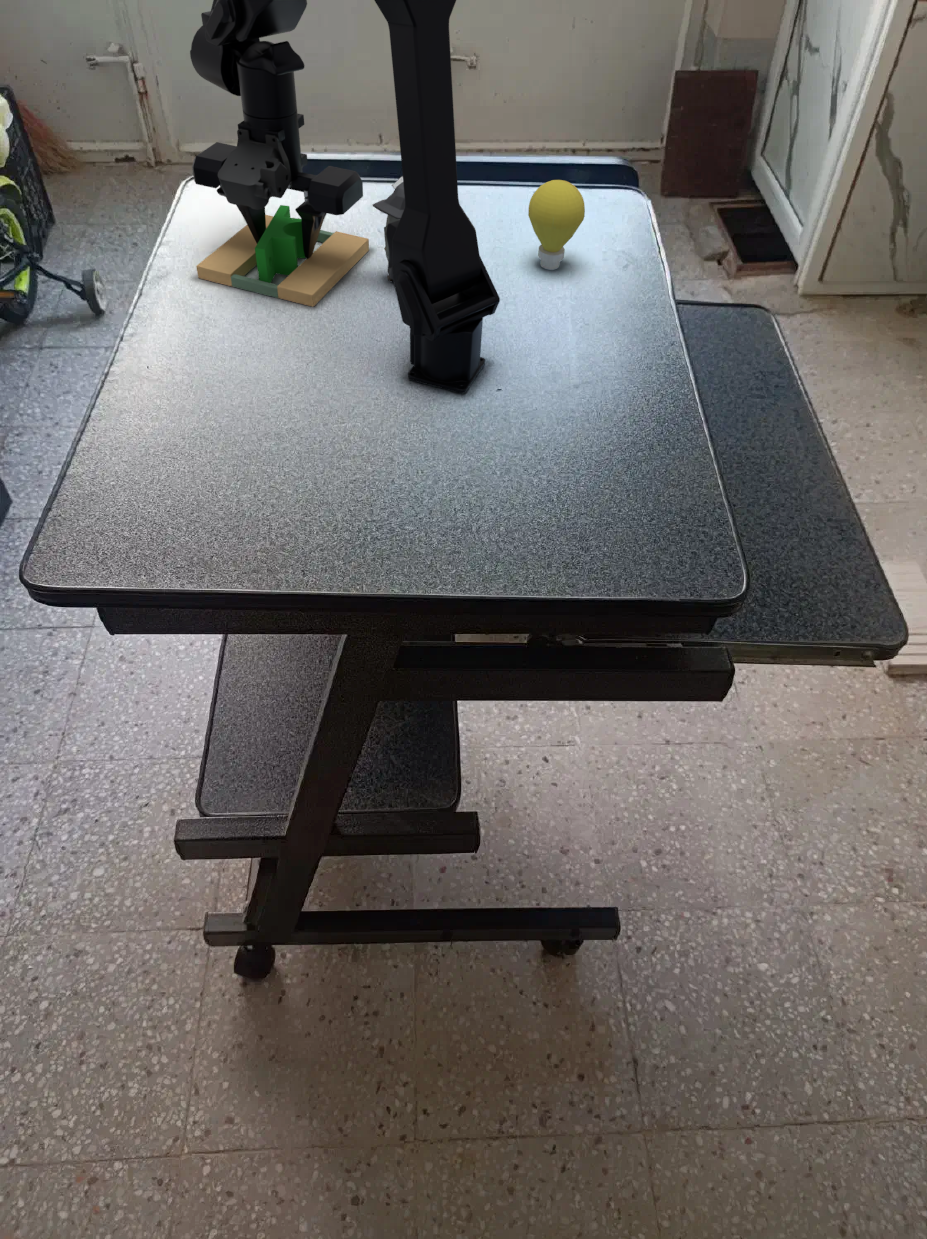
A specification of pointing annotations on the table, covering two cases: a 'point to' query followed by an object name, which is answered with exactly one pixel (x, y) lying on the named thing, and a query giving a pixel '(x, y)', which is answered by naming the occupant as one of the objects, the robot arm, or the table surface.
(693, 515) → the table surface
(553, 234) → the light bulb
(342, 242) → the square wooden frame
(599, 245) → the table surface
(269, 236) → the pipe clamp
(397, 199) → the wizard figurine
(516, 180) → the table surface
